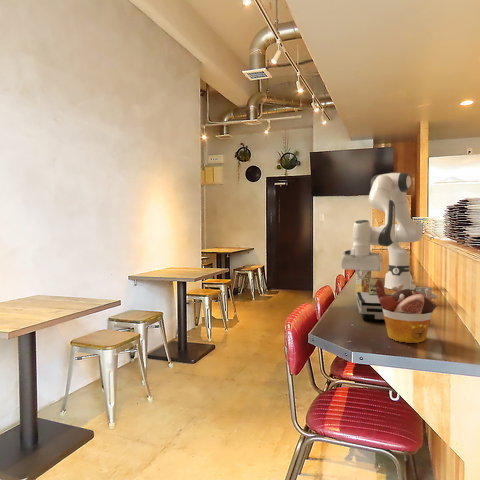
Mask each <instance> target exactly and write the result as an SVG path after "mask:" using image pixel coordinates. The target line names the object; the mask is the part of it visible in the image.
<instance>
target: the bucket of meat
mask: <svg viewBox="0 0 480 480" xmlns="http://www.w3.org/2000/svg"><path fill="white" fill-rule="evenodd" d="M403 286H404V285H403V284H399V285H398V288H397V287H396V286H394V287H392V288H391V289H390V290H391V291H394V292H393V293H394V294H393V295H392V294H390V295H391V296H388V295H389V294H386V290H385V287H384V288H383V284H382V281H381V280H380V279H378V280H377V281H376V283H375V287H376V290H375V291H376V293H377V296H378V298H379V302H380V304H381V306H382V308H383V313H384V318H385V319H384V323H385V327H386V332H387V336H388V338H389V339H390V338H391V339H390V340H392V339H393V340H392V341H394V340H395V341H394V342H396V341H399V342H398V343H401V342H405V343H404V344H407V343H417V344H420V343H419V342H421V343H423V342H425V340H426V339H427V335H428V330H429V328H430V323H431V319H432V316H433V312H434V310H435V309H436V307H437V304H436V302H434V301H433V300H436V299H438V298H439V296H438V294H436V292H432V294H431V290H430V289H427V288H426V289H425V293H426V295H424V294H423V293H421V292H418V291H416V290H415V292H414V293H412V290H410V289H405V290H402V288H403ZM431 299H432V300H431Z"/></svg>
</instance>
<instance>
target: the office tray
mask: <svg viewBox="0 0 480 480" xmlns="http://www.w3.org/2000/svg"><path fill="white" fill-rule="evenodd" d="M394 293H395V292H391V294H387V295H388V296H391V295H393V294H394ZM356 301H357V308H358V309H357V310H358V313H359V315H362V316H361V319H362V321H363V320H364V321H363V322H374V321H380V320H385V318H384V313H383V308H382V306H381V304H380V302H379V298H378V296H377V294H369V293H368V292H357V297H356Z"/></svg>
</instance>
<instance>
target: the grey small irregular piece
mask: <svg viewBox="0 0 480 480" xmlns="http://www.w3.org/2000/svg"><path fill="white" fill-rule="evenodd" d="M426 288H427V289H430V290H431V294H432V293H433V290H432V289H433V288H432V287H427V286H416V289H415V292H416V291H418V292H421V293H423V294H424V295H426V293H425V289H426ZM431 300H432V301H433V299H431Z"/></svg>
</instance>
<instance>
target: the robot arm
mask: <svg viewBox="0 0 480 480" xmlns="http://www.w3.org/2000/svg"><path fill="white" fill-rule="evenodd" d="M411 184H412V179H411V176H410V174H409V173H407V172H388V173H383V174H376V175H374V176H372V178H371V179H370V191H369V194H368V202H369V204H370V206H372V207H373V208H374V209H375V210H377V211H381V212H383V213H384V214H385V215H384V216H385V217H384V224H383V225H382V224H381V225H380V226H372V225H371V223H370V220H368V219H359V220H356V221H354V223H353V227H352V248H349V249H345V250H343V251H342V257H341V262H340V267H341V269H343V270H354V271H355V275H356V274H357V275H358V279H364V276H365V274H366V273H367V271H371V272H381V271H382V270H383V264H382V260H383V256H382V254H381V253H379V252H373V251H371V247H372V246H381V247H386V249H387V252H388V267H387V272H386V273H385V278H384V289H388V290H389V289H390V290H392V289H391V288H392V287H394V286H396V287H397V288H398V285H399V284H403V285H404V286H403V288H402V290H405V289H410V290H411V291H414V290H415V291H416V287H417V285H416V284H414V282H413V277H412V274H411V273H410V271H411V267H410V266H411V265H410V254H409V252H408V250H407V249H405V248H403V247H401V245H400V243H415V242H419V241H420V240H421V239H422V238H423V230H422V227H421V226H420V225H419V224H418V223H415V222H414V220H413V219H412V217H411V216H410V213H409V206H408V205H409V204H408V195H407V191H408V190H410V188H411ZM395 222H397V223H395ZM360 270H363V275H360V274H359V272H360Z"/></svg>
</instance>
